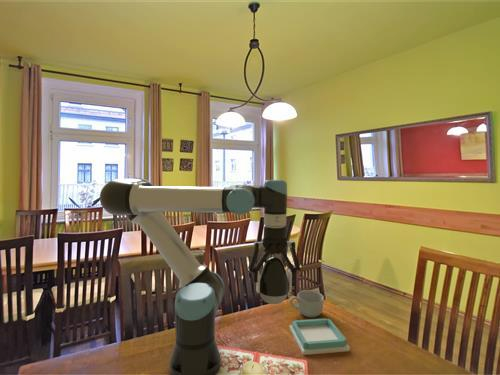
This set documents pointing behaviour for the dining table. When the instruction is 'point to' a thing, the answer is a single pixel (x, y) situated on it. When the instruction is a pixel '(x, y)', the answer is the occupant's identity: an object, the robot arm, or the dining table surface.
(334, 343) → the dock
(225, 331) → the dining table surface
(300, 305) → the teacup
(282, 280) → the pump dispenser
